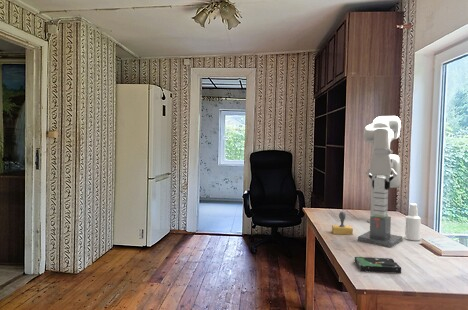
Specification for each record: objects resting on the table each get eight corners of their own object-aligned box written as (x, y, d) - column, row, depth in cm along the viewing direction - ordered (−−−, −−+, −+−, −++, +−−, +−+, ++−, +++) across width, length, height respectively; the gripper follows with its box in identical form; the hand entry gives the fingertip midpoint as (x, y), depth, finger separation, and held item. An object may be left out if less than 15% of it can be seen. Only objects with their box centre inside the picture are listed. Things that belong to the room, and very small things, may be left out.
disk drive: (391, 265, 133) (353, 262, 135) (391, 258, 133) (354, 256, 134) (401, 275, 123) (360, 272, 124) (402, 267, 122) (360, 265, 124)
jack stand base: (370, 234, 176) (370, 212, 176) (402, 240, 165) (402, 216, 165) (357, 240, 165) (358, 216, 164) (391, 247, 154) (392, 222, 153)
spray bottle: (418, 237, 170) (419, 203, 170) (421, 241, 164) (422, 205, 163) (404, 236, 173) (404, 202, 172) (406, 239, 166) (407, 204, 166)
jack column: (377, 220, 168) (377, 177, 168) (387, 221, 165) (388, 178, 164) (373, 221, 165) (373, 177, 164) (383, 223, 161) (384, 178, 160)
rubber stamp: (333, 234, 176) (334, 212, 176) (331, 231, 182) (332, 210, 182) (352, 235, 175) (353, 212, 175) (350, 232, 181) (350, 210, 181)
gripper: (402, 153, 161) (401, 189, 161) (367, 152, 172) (366, 186, 173) (397, 153, 155) (396, 191, 156) (361, 152, 167) (360, 188, 167)
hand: (381, 188), depth 164 cm, fingers open, 5 cm apart
